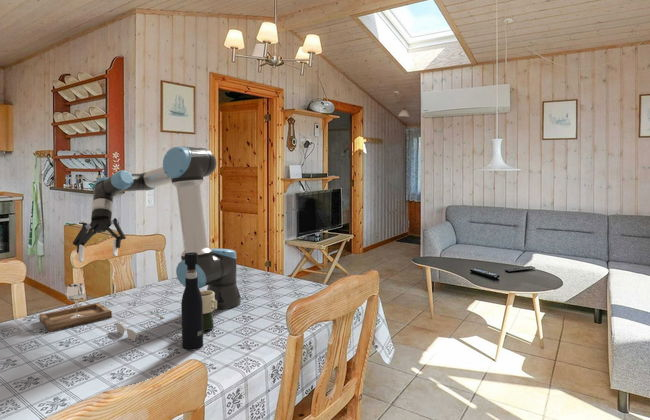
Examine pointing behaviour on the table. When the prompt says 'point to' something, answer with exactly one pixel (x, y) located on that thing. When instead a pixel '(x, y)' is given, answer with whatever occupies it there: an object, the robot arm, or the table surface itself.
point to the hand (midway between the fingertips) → (97, 258)
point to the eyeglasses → (130, 332)
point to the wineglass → (75, 295)
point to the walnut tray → (63, 319)
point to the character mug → (208, 308)
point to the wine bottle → (192, 307)
